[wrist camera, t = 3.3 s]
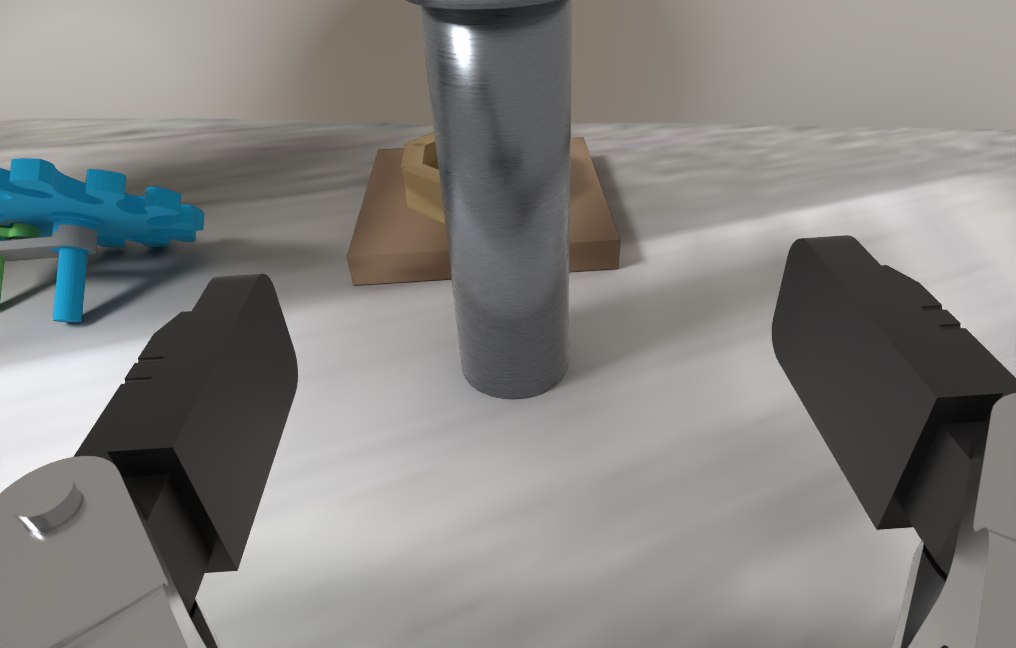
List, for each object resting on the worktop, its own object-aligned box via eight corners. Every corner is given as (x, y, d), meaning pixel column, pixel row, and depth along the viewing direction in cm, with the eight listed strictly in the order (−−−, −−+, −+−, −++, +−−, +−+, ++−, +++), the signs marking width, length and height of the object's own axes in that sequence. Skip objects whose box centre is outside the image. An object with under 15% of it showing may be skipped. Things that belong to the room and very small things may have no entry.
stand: (353, 285, 29) (337, 215, 27) (382, 173, 39) (372, 115, 37) (618, 268, 29) (623, 198, 27) (582, 161, 39) (584, 102, 37)
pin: (449, 411, 23) (385, -45, 14) (453, 327, 27) (403, -72, 18) (586, 402, 23) (603, -58, 14) (570, 320, 27) (576, -82, 18)
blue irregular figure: (250, 212, 32) (66, 125, 23) (243, 331, 31) (49, 293, 22) (72, 229, 35) (-159, 158, 25) (61, 339, 34) (-182, 308, 25)
